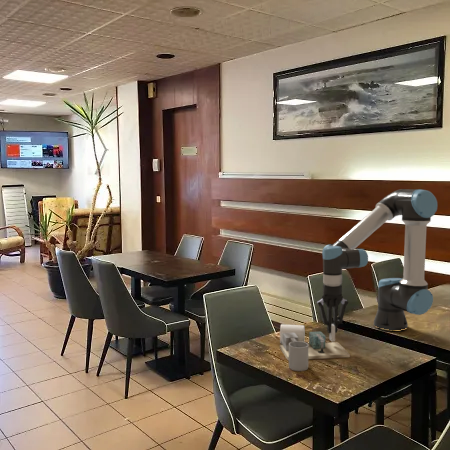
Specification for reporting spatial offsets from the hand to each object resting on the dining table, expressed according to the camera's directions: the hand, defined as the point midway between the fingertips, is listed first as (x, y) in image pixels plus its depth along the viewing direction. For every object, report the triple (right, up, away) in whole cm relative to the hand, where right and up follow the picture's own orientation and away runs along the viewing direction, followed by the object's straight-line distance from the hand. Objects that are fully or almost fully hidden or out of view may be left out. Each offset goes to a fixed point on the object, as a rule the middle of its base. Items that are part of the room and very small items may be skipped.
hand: (332, 340), depth 201 cm
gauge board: (-8, -4, -4) cm, 10 cm away
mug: (-15, -3, +9) cm, 18 cm away
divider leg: (-6, -2, -3) cm, 7 cm away
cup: (-17, -6, -18) cm, 26 cm away
